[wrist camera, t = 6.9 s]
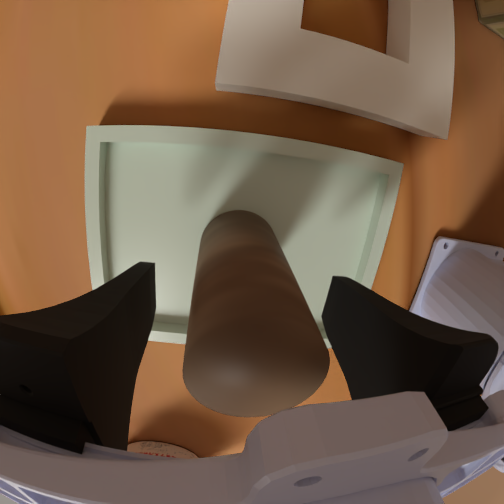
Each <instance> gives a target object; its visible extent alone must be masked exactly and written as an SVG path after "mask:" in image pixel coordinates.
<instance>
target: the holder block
mask: <svg viewBox="0 0 504 504" xmlns="http://www.w3.org/2000/svg"><path fill="white" fill-rule="evenodd" d="M303 4H304V0H229V3H228V8H227V13H226V19H225V24H224V30H223V36H222V42H221V48H220V54H219V60H218V66H217V73H216V80H215V86H216V90H217V91H228V92H237V93H245V94H253V95H260V96H267V97H274V98H280V99H286V100H291V101H297V102H302V103H307V104H312V105H316V106H321V107H325V108H330V109H334V110H338V111H342V112H346V113H350V114H354V115H357V116H361V117H365V118H368V119H372V120H375V121H378V122H382V123H385V124H388V125H391V126H394V127H397V128H400V129H403V130H406V131H409V132H412V133H415V134H417V135H420V136H425V137H432V138H438V139H444V140H447V139H448V132H449V125H450V117H451V108H452V97H453V84H454V63H455V30H454V10H453V0H388V28H387V45H386V54H383V53H381V52H378V51H375V50H373V49H370V48H367V47H364V46H361V45H358V44H355V43H352V42H349V41H346V40H342V39H339V38H336V37H332V36H328V35H325V34H321V33H317V32H313V31H309V30H305V29H300V28H301V20H302V12H303Z"/></svg>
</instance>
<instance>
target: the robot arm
mask: <svg viewBox="0 0 504 504" xmlns="http://www.w3.org/2000/svg"><path fill="white" fill-rule="evenodd" d="M444 244H445V246H444ZM503 258H504V249H503V248H502V247H497V246H492V245H486V244H481V243H476V242H470V241H465V240H459V239H454V238H448V237H442V236H439V237H437V238H436V239H435V241H434V244H433V247H432V250H431V253H430V256H429V259H428V262H427V265H426V268H425V271H424V274H423V276H422V279H421V282H420V285H419V287H418V290H417V292H416V295H415V297H414V300H413V302H412V305H411V307H410V310H409V311H408V310H406V309H404V308H402V307H400V306H398V305H396V304H394V303H392V302H391V301H389V300H387V299H385V298H384V297H382V296H380V295H379V294H377V293H375V292H374V291H372V290H370V289H369V288H367V287H365V286H364V285H362V284H360V283H358V282H357V281H355V280H353V279H351V278H348V277H346V276H332V280H331V284H330V287H329V291H328V295H327V298H326V302H325V305H324V308H323V312H322V315H321V317H322V321H323V325H324V329H325V332H326V335H327V338H328V340H329V342H330V345H331V347H332V349H333V351H334V353H335V356H336V358H337V360H338V362H339V365H340V367H341V369H342V371H343V374H344V376H345V379H346V381H347V384H348V388H349V391H350V395H351V398H352V400H350V401H341V402H332V403H321V404H309V405H304V406H299V407H294V408H289V409H284V410H281V411H279V412H277V413H275V414H273V415H271V416H269V417H267V418H265V419H263V420H261V421H260V422H259V423H258V424H257V425H256V426H255V428H254V429H253V430H252V431H251V433H250V434H249V435H248V436H247V439H246V443H245V447H244V450H243V452H242V453H237V454H230V455H223V456H214V457H205V458H193V459H184V458H173V457H164V456H155V455H148V454H141V453H135V452H129V451H127V446H128V433H129V423H130V414H131V407H132V400H133V393H134V388H135V382H136V377H137V373H138V369H139V366H140V363H141V360H142V357H143V354H144V351H145V348H146V345H147V342H148V339H149V336H150V333H151V330H152V326H153V321H154V316H155V311H156V283H155V263H152V262H141V261H140V262H138V263H136V264H135V265H133V266H132V267H130V268H129V269H127V270H126V271H124V272H122V273H121V274H119V275H118V276H116V277H115V278H113V279H112V280H110V281H108V282H106V283H105V284H103V285H101V286H100V287H98V288H96V289H94V290H92V291H90V292H88V293H86V294H84V295H82V296H80V297H77V298H75V299H73V300H70V301H67V302H64V303H61V304H58V305H55V306H52V307H48V308H44V309H41V310H36V311H31V312H26V313H18V314H10V315H0V494H2V495H4V496H5V497H7V498H9V499H11V500H13V501H15V502H17V503H19V504H445V503H444V501H443V499H442V498H443V497H445V496H447V495H448V494H450V493H452V492H454V491H455V490H457V489H458V488H460V487H462V486H464V485H465V484H467V483H468V482H470V481H471V480H473V479H475V478H476V477H478V476H479V475H481V474H482V473H484V472H485V471H487V470H488V469H490V468H491V467H493V466H494V467H495V468H496V469H497V470H499V471H501V472H503V473H504V262H503ZM481 394H482V396H480V395H481Z"/></svg>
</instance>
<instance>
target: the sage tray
mask: <svg viewBox="0 0 504 504" xmlns="http://www.w3.org/2000/svg"><path fill="white" fill-rule="evenodd" d="M403 165H404V164H403V163H400V162H396V161H392V160H389V159H385V158H381V157H377V156H373V155H369V154H365V153H361V152H356V151H352V150H348V149H343V148H338V147H334V146H329V145H324V144H318V143H313V142H308V141H302V140H296V139H290V138H284V137H277V136H270V135H263V134H256V133H248V132H239V131H230V130H219V129H208V128H195V127H178V126H153V125H102V126H87V130H86V148H85V214H86V232H87V245H88V256H89V266H90V274H91V282H92V289H93V290H94V289H96V288H98V287H100V286H101V285H103V284H105V283H106V282H108V281H110V280H112V279H113V278H115V277H116V276H118V275H119V274H121V273H122V272H124V271H126V270H127V269H129V268H130V267H132V266H133V265H135V264H136V263H138V262H140V261H141V262H152V263H155V283H156V311H155V316H154V321H153V326H152V330H151V333H150V336H149V339H148V340H149V341H158V342H168V343H179V344H186V337H187V329H188V321H189V313H190V306H191V299H192V292H193V285H194V278H195V272H196V265H197V259H198V253H199V247H200V241H201V237H202V234H203V231H204V229H205V228H206V226H207V225H208V224H209V223H210V222H211V221H212V220H213V219H214V218H215V217H217V216H218V215H220V214H222V213H225V212H228V211H233V210H245V211H250V212H253V213H255V214H257V215H259V216H261V217H262V218H263V219H265V220H266V221H267V222H268V224H269V225H270V226H271V228H272V230H273V232H274V234H275V236H276V238H277V240H278V242H279V244H280V246H281V248H282V251H283V253H284V255H285V257H286V259H287V261H288V263H289V265H290V267H291V270H292V272H293V274H294V276H295V278H296V280H297V282H298V285H299V287H300V289H301V291H302V293H303V295H304V298H305V300H306V302H307V304H308V306H309V308H310V311H311V313H312V315H313V317H314V319H315V322H316V324H317V326H318V328H319V330H320V333H321V335H322V337H323V339H324V342H325V344H326V346H327V348H332V347H331V345H330V342H329V340H328V338H327V335H326V332H325V329H324V325H323V321H322V317H321V315H322V312H323V308H324V305H325V302H326V298H327V295H328V291H329V287H330V284H331V280H332V276H346V277H348V278H351V279H353V280H355V281H357V282H358V283H360V284H362V285H364V286H365V287H367V288H369V289H370V290H371V287H372V284H373V281H374V278H375V275H376V272H377V269H378V265H379V262H380V259H381V255H382V252H383V249H384V245H385V242H386V238H387V234H388V231H389V227H390V223H391V219H392V215H393V211H394V207H395V203H396V198H397V194H398V190H399V185H400V180H401V176H402V171H403Z"/></svg>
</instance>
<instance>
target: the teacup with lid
mask: <svg viewBox="0 0 504 504" xmlns="http://www.w3.org/2000/svg"><path fill="white" fill-rule="evenodd" d="M127 451H129V452H135V453H141V454H148V455H155V456H164V457H173V458H184V459H193V458H198V457H197V456H196V455H195V454H194V453H192V452H190V451H188V450H186V449H184V448H182V447H179V446H176V445H172V444H168V443H163V442H155V441H140V442H134V443H131V444H129V445H128V446H127Z"/></svg>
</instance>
